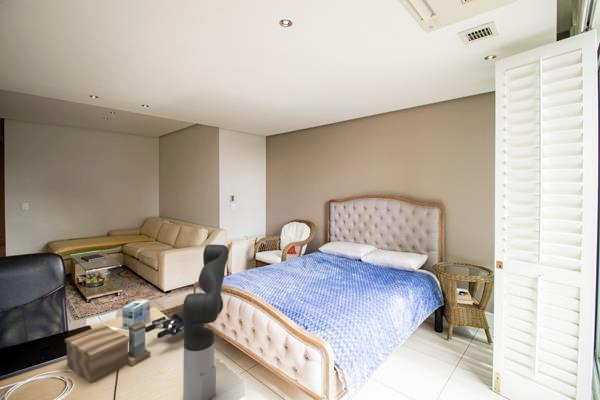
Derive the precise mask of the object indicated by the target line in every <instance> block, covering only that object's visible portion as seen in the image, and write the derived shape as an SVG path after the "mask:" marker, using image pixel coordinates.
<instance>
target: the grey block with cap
mask: <svg viewBox="0 0 600 400" xmlns="http://www.w3.org/2000/svg"><path fill="white" fill-rule="evenodd" d="M145 327H146V324H143V323H141V322H138V323H135V324H133V325H130V326H129V332H128V337H129V338H130V341H129V342H128V352H129V356H131V357H133V358H136V357H138V356H140V355H141V354H143V353H145V349H146V332H145Z"/></svg>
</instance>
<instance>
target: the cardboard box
mask: <svg viewBox="0 0 600 400" xmlns="http://www.w3.org/2000/svg"><path fill="white" fill-rule="evenodd" d="M109 327H110V326H107V325H104V324H102V325H99V326H96V327H94V328H90V329H88V330H85V331H83V332H80V333H77V334H75V335H71V336H70V337H67V338H64V343H66V367H67V368H69V369H71V370H72V371H73V372H75V373H76V374H78V375H79V376H80V377H82V378H83V379H84V380H86V381H87V382H89V383H90V384H93V383H95V382H97V381H98V380H101V379H103V378H105V377H106V376H109V375H110V374H112V373H114V372H116V371H119V370H120V369H122V368H123V367H124V368H125V367H126V366H130V367H134V366H135V365H138V364H139V363H142V362H143V361H145V360H147V359H149V358H150V357H151V355H152V351H151V350H149V349H148V348H145V353H143V354H141V355H140V356H138V357H136V358H133V357H131V356H129V342H128V341H130V338H129V336H127V335H125V334H124V333H121V332H119V331H115V330H113V329H111V328H109Z"/></svg>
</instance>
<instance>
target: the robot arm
mask: <svg viewBox="0 0 600 400" xmlns="http://www.w3.org/2000/svg"><path fill="white" fill-rule="evenodd" d="M229 252H230V251H229V248H228V246H226V245H225V244H213V243H212V244H206V245H205V247H204V249H203V257H202V260H203V267H202V268H201V271H200V273H199V277H198V284H199V287H200V288H201V290H202V291H203V292H198V293H197V292H196V293H189V294H187V295H186V296H185V298H184V300H183V305H182V306H183V307H182V310H179V311H177V312H175V313H173V314H172V316H171V317H170V318H166V316H162V317H160V318H157V319H154V320H152V321H151V324H149V325H147V326H145V334H147V333H149V332H152V331H153V330H154V331H155V330H157V329H159V330H161V331H159V332H158V333H157V335H156V336H157V337H156V338H157V339H161V338H163V337H166V336H170V335H171V336H172V337H174V336H176V335H177V334H179V333H181V332H183V375H182V377H183V379H182V382H183V384H182V385H183V386H182V387H183V390H182V399H183V400H209V399H210V398H211V397H212V396H213V397H214V396H215V395H216V394H217V392H216V391H217V390H216V389H217V387H216V383H217V366H216V365H214V362H215V333H214V331H213V330H212V329H210V328H208V327H205V326H202V325H203V324H205V325H206V324H212V323H214V322H216V320H217V319H218V317H219V315H220V313H222V312H223V309H224V301H223V297H222V287H223V283H224V279H225V271H226V265H227V263H228V260H229V254H230V253H229ZM213 397H212V398H213ZM212 398H211V399H212ZM211 399H210V400H211Z"/></svg>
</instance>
